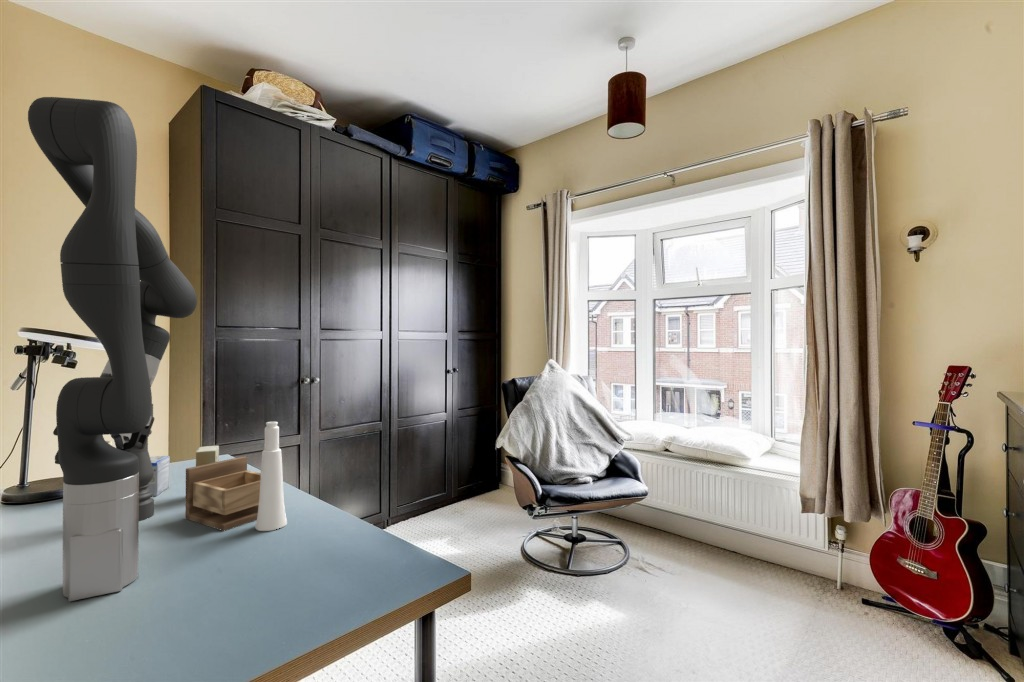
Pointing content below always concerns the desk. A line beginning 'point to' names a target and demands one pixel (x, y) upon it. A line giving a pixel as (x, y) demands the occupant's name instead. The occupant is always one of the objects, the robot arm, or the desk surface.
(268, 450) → the cosmetic bottle
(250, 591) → the desk surface
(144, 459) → the candle holder
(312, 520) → the desk surface
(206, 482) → the wooden box caddy
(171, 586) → the desk surface
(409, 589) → the desk surface
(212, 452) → the skincare box
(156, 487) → the medicine box
